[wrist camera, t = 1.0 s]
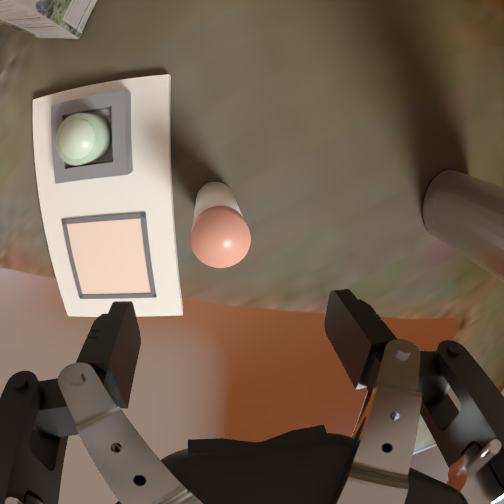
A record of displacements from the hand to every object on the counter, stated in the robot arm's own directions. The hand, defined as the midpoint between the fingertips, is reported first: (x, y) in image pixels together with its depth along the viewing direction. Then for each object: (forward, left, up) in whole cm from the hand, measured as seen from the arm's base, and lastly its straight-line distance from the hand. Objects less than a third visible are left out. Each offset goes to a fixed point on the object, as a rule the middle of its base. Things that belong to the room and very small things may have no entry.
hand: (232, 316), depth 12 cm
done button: (+11, -7, -16) cm, 21 cm away
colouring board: (+11, 0, -18) cm, 21 cm away
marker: (0, 0, -18) cm, 18 cm away
